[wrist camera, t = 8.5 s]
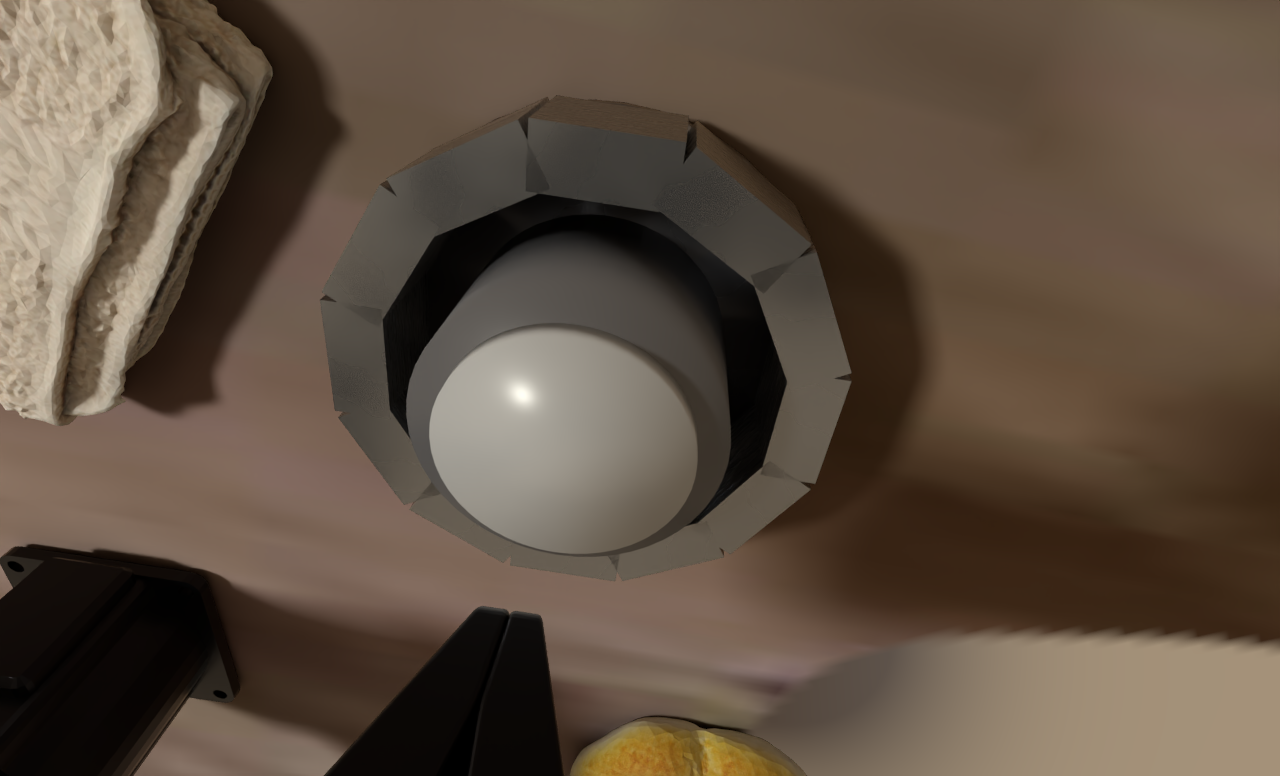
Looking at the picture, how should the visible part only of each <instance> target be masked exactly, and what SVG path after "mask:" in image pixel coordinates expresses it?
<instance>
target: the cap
mask: <svg viewBox="0 0 1280 776" xmlns="http://www.w3.org/2000/svg"><path fill="white" fill-rule="evenodd" d="M406 417H407V424H408V430H409V435H410V438H411V442H412V445H413V448H414V451H415V453H416V455H417V458H418V460H419V462H420V464H421V466H422V468H423V469H424V471H425V473H426V474H427V476H428V477H429V479H430V480H431V482H432V483H433V484H434V486H435V487H436V488H437V489H438V491H439V492H440V493H441V494H442V495H443V497H445V498H446V499H447V500H448V501H449V502H450V503H451V504H452V505H453V506H454V507H455V508H456V509H457V510H458V511H459V512H461V513H462V514H463V515H465V516H466V517H467V518H468V519H470V520H471V521H472V522H474V523H476V524H477V525H479V526H480V527H482V528H483V529H485V530H487V531H489V532H491V533H492V534H494V535H496V536H498V537H500V538H502V539H505V540H507V541H510V542H512V543H515V544H517V545H520V546H523V547H526V548H529V549H533V550H536V551H540V552H545V553H550V554H555V555H563V556H573V557H599V556H610V555H617V554H622V553H627V552H632V551H635V550H638V549H642V548H645V547H648V546H650V545H653V544H655V543H657V542H660V541H662V540H664V539H666V538H668V537H669V536H671V535H673V534H675V533H676V532H678V531H680V530H681V529H682V528H684V527H685V526H686V525H687V524H689V523H690V522H691V521H693V520H694V519H695V518H696V517H697V516H698V515H699V514H700V513H701V512H702V511H703V510H704V509H705V507H706V506H707V505H708V503H709V502H710V501H711V499H712V498H713V496H714V495H715V493H716V491H717V490H718V488H719V486H720V484H721V482H722V480H723V477H724V474H725V471H726V468H727V465H728V461H729V455H730V448H731V426H730V411H729V397H728V382H727V368H726V353H725V339H724V327H723V320H722V314H721V310H720V307H719V304H718V301H717V298H716V296H715V293H714V291H713V289H712V287H711V285H710V283H709V281H708V280H707V278H706V277H705V275H704V274H703V272H702V271H701V269H700V268H699V267H698V266H697V265H696V263H695V262H694V261H693V260H692V259H691V258H690V256H688V255H687V254H686V253H685V252H684V251H683V250H682V249H681V248H679V247H678V246H677V245H676V244H675V243H673V242H672V241H670V240H669V239H667V238H666V237H664V236H663V235H661V234H660V233H658V232H656V231H654V230H652V229H650V228H648V227H646V226H643V225H641V224H638V223H635V222H632V221H629V220H626V219H621V218H617V217H612V216H605V215H593V214H585V215H570V216H564V217H559V218H554V219H551V220H548V221H545V222H542V223H539V224H536V225H534V226H532V227H530V228H528V229H526V230H524V231H522V232H521V233H519V234H518V235H516V236H515V237H513V238H512V239H511V240H509V241H508V242H507V243H506V244H505V245H504V246H503V247H502V248H500V249H499V250H498V251H497V252H496V254H495V255H494V256H493V257H492V259H491V260H490V261H489V262H488V264H487V265H486V266H485V268H484V269H483V270H482V272H481V273H480V274H479V276H478V277H477V278H476V280H475V281H474V282H473V284H472V285H471V287H470V288H469V289H468V291H467V292H466V293H465V295H464V296H463V297H462V299H461V300H460V301H459V303H458V304H457V305H456V307H455V308H454V309H453V311H452V312H451V313H450V315H449V316H448V317H447V319H446V320H445V322H444V323H443V324H442V326H441V327H440V328H439V330H438V331H437V332H436V334H435V335H434V336H433V338H432V339H431V340H430V342H429V343H428V344H427V346H426V347H425V348H424V350H423V352H422V354H421V355H420V357H419V359H418V361H417V363H416V365H415V367H414V370H413V373H412V376H411V379H410V381H409V387H408V393H407V399H406Z"/></svg>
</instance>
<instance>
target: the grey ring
mask: <svg viewBox="0 0 1280 776" xmlns="http://www.w3.org/2000/svg"><path fill="white" fill-rule="evenodd" d="M688 118H689V116H687V115H680V114H674V113H667V112H662V111H659V110H656V109H651V108H647V107H643V106H638V105H634V104H629V103H625V102H614V101H602V100H583V99H577V98H571V97H564V96H558V95H556V96H555V97H554V98H553V99H551V100H550V101H549V99H548V97H546V98H544V99H541V100H539V101H537V102H535V103H533V104H530V105H528V106H526V107H524V108H522V109H519V110H517V111H515V112H513V113H511V114H508V115H505V116H503V117H500V118H497V119H495V120H493V121H491V122H489V123H487V124H486V125H484V126H482V127H480V128H478V129H475V130H473V131H471V132H469V133H467V134H464V135H462V136H460V137H458V138H456V139H453V140H451V141H449V142H447V143H445V144H442V145H440V146H438V147H436V148H434V149H433V150H431V151H429V152H428V153H426V154H425V155H423V156H421V157H420V158H418V159H417V160H415V161H413V162H412V163H410V164H409V165H407V166H406V167H404V168H402V169H401V170H399V171H398V172H396V173H394V174H393V175H391V176H390V177H388V178H387V180H386V181H385V182H383V183H382V184H380V185H379V187H378V189H377V191H376V193H375V194H374V196H373V198H372V200H371V202H370V204H369V205H368V207H367V209H366V211H365V213H364V215H363V217H362V218H361V220H360V222H359V224H358V226H357V228H356V229H355V231H354V233H353V235H352V237H351V239H350V240H349V242H348V244H347V246H346V248H345V250H344V251H343V253H342V255H341V257H340V259H339V261H338V263H337V264H336V266H335V268H334V270H333V272H332V274H331V275H330V277H329V279H328V281H327V283H326V285H325V286H324V288H323V290H322V293H324V294H326V295H325V296H324V297H323V298H322V299H320V303H321V311H322V318H323V326H324V333H325V340H326V348H327V355H328V363H329V370H330V377H331V385H332V392H333V400H334V407H335V411H342V414H341V415H340V416H339V417H338V418H339V419H340V421H341V422H342V423H343V425H344V426H345V427H346V429H347V430H348V431H349V433H350V434H351V435H352V437H353V438H354V439H355V440H356V442H357V443H358V444H359V446H360V447H361V448H362V450H363V451H364V452H365V454H366V455H367V456H368V458H369V459H370V460H371V462H372V463H373V464H374V466H375V467H376V468H377V470H378V471H379V472H380V474H381V475H382V476H383V478H384V479H385V480H386V482H387V483H388V484H389V486H390V487H391V488H392V490H393V491H394V492H395V494H396V495H397V496H398V498H399V499H400V500H401V502H402V503H403V504H404V505H405V504H408V503H412V502H413V504H412V506H411V508H410V509H409V510H411V511H413V512H415V513H416V514H418V515H420V516H422V517H423V518H425V519H427V520H429V521H430V522H432V523H434V524H436V525H437V526H439V527H441V528H443V529H445V530H446V531H448V532H450V533H452V534H453V535H455V536H457V537H459V538H460V539H462V540H464V541H466V542H467V543H469V544H471V545H473V546H474V547H476V548H478V549H480V550H481V551H483V552H485V553H487V554H489V555H490V556H492V557H494V558H496V559H497V560H499V561H501V562H503V563H504V562H505V561H506V560H507V559H508V558H509V557H510V556H511V562H510V565H511V566H517V567H524V568H530V569H537V570H544V571H550V572H557V573H563V574H570V575H577V576H583V577H590V578H596V579H603V580H610V581H615V580H616V574H617V572H618V574H619V576H620V578H621V579H622V581H625V580H629V579H633V578H638V577H642V576H646V575H650V574H655V573H659V572H663V571H668V570H672V569H676V568H680V567H685V566H689V565H693V564H698V563H702V562H706V561H710V560H715V559H719V558H723V557H724V551H726V552H727V553H729V554H731V553H733V552H734V551H735V550H736V549H738V548H739V547H740V546H741V545H743V544H744V543H745V542H746V541H747V540H749V539H750V538H751V537H752V536H754V535H755V534H756V533H757V532H759V531H760V530H761V529H762V528H764V527H765V526H766V525H767V524H769V523H770V522H771V521H772V520H774V519H775V518H776V517H777V516H779V515H780V514H781V513H782V512H784V511H785V510H786V509H787V508H789V507H790V506H791V505H792V504H794V503H795V502H796V501H797V500H799V499H800V498H801V497H802V496H803V495H805V494H806V493H807V492H808V491H810V490H811V488H810V484H809V483H813V484H815V483H816V480H817V478H818V475H819V472H820V469H821V466H822V463H823V461H824V458H825V455H826V452H827V449H828V447H829V444H830V441H831V438H832V435H833V432H834V430H835V427H836V424H837V421H838V418H839V415H840V413H841V410H842V407H843V404H844V401H845V398H846V396H847V393H848V390H849V387H850V384H851V379H850V376H849V374H851V369H850V366H849V362H848V359H847V355H846V352H845V348H844V345H843V341H842V338H841V334H840V331H839V327H838V324H837V321H836V317H835V314H834V310H833V307H832V303H831V300H830V296H829V293H828V289H827V286H826V282H825V279H824V275H823V272H822V269H821V265H820V262H819V258H818V255H817V251H816V249H815V247H814V245H813V242H812V240H811V238H810V235H809V233H808V231H807V228H806V226H805V224H804V222H803V219H802V217H801V215H800V212H799V210H797V209H796V207H795V204H794V203H793V202H792V201H791V200H790V199H789V198H787V197H786V196H785V195H784V194H783V193H782V192H780V191H779V190H778V189H777V188H776V187H775V186H773V185H772V184H771V183H770V182H769V181H768V180H767V179H766V178H765V177H764V176H763V175H762V174H761V173H760V172H759V171H758V170H757V169H756V168H755V167H754V166H753V165H752V164H751V163H750V162H749V161H748V160H747V159H746V158H745V157H744V156H742V155H741V154H740V153H738V152H737V151H736V150H734V149H733V148H732V147H730V146H729V145H728V144H726V143H725V142H724V141H722V140H721V139H720V138H718V137H716V136H715V135H714V134H713V133H712V132H711V131H709V130H708V129H707V128H706V127H705V126H704V125H702V124H701V123H700V122H699V121H698V120H697V121H696V122H695V123H694V124H692V123H690V122H688ZM585 214H593V215H605V216H612V217H617V218H621V219H626V220H629V221H632V222H635V223H638V224H641V225H643V226H646V227H648V228H650V229H652V230H654V231H656V232H658V233H660V234H661V235H663V236H664V237H666V238H667V239H669V240H670V241H672V242H673V243H675V244H676V245H677V246H678V247H679V248H681V249H682V250H683V251H684V252H685V253H686V254H687V255H688V256H690V258H691V259H692V260H693V261H694V262H695V263H696V265H697V266H698V267H699V268H700V269H701V271H702V272H703V274H704V275H705V277H706V278H707V280H708V281H709V283H710V285H711V287H712V289H713V291H714V293H715V296H716V298H717V301H718V304H719V307H720V310H721V314H722V320H723V327H724V339H725V353H726V368H727V382H728V397H729V411H730V426H731V448H730V455H729V461H728V465H727V468H726V471H725V474H724V477H723V480H722V482H721V484H720V486H719V488H718V490H717V491H716V493H715V495H714V496H713V498H712V499H711V501H710V502H709V503H708V505H707V506H706V507H705V509H704V510H703V511H702V512H701V513H700V514H699V515H698V516H697V517H696V518H695V519H694V520H693V521H691V522H690V523H689V524H687V525H686V526H685V527H684V528H682V529H681V530H680V531H678V532H676V533H675V534H673V535H671V536H669V537H668V538H666V539H664V540H662V541H660V542H657V543H655V544H653V545H650V546H648V547H645V548H642V549H638V550H635V551H632V552H627V553H622V554H617V555H610V556H599V557H573V556H563V555H555V554H550V553H545V552H540V551H536V550H533V549H529V548H526V547H523V546H520V545H517V544H515V543H512V542H510V541H507V540H505V539H502V538H500V537H498V536H496V535H494V534H492V533H491V532H489V531H487V530H485V529H483V528H482V527H480V526H479V525H477V524H476V523H474V522H472V521H471V520H470V519H468V518H467V517H466V516H465V515H463V514H462V513H461V512H459V511H458V510H457V509H456V508H455V507H454V506H453V505H452V504H451V503H450V502H449V501H448V500H447V499H446V498H445V497H443V495H442V494H441V493H440V492H439V491H438V489H437V488H436V487H435V486H434V484H433V483H432V482H431V480H430V479H429V477H428V476H427V474H426V473H425V471H424V469H423V468H422V466H421V464H420V462H419V460H418V458H417V455H416V453H415V451H414V448H413V445H412V442H411V438H410V435H409V430H408V424H407V417H406V399H407V393H408V387H409V381H410V379H411V376H412V373H413V370H414V367H415V365H416V363H417V361H418V359H419V357H420V355H421V354H422V352H423V350H424V348H425V347H426V346H427V344H428V343H429V342H430V340H431V339H432V338H433V336H434V335H435V334H436V332H437V331H438V330H439V328H440V327H441V326H442V324H443V323H444V322H445V320H446V319H447V317H448V316H449V315H450V313H451V312H452V311H453V309H454V308H455V307H456V305H457V304H458V303H459V301H460V300H461V299H462V297H463V296H464V295H465V293H466V292H467V291H468V289H469V288H470V287H471V285H472V284H473V282H474V281H475V280H476V278H477V277H478V276H479V274H480V273H481V272H482V270H483V269H484V268H485V266H486V265H487V264H488V262H489V261H490V260H491V259H492V257H493V256H494V255H495V254H496V252H497V251H498V250H499V249H500V248H502V247H503V246H504V245H505V244H506V243H507V242H508V241H509V240H511V239H512V238H513V237H515V236H516V235H518V234H519V233H521V232H522V231H524V230H526V229H528V228H530V227H532V226H534V225H536V224H539V223H542V222H545V221H548V220H551V219H554V218H559V217H564V216H570V215H585Z"/></svg>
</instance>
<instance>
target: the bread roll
mask: <svg viewBox="0 0 1280 776" xmlns="http://www.w3.org/2000/svg"><path fill="white" fill-rule="evenodd" d="M570 776H807V775H806V774H805V773H804V771H803V770H802V769H801V768H800V767H799V766H798V765H797V764H796V763H795V762H794V761H793V760H791V759H790V758H789V757H788V756H786V755H785V754H784V753H783V752H781V751H780V750H779V749H777V748H775V747H774V746H773V745H771V744H770V743H769V742H767V741H766V740H764V739H761V738H759V737H755V736H752V735H749V734H746V733H742V732H738V731H733V730H724V729H718V728H711V729H703V728H700V727H698V726H697V725H695V724H693V723H690V722H688V721H684V720H679V719H673V718H665V717H644V718H640V719H637V720H635V721H632V722H629V723H627V724H624V725H622V726H621V727H619V728H617V729H615V730H613V731H611V732H610V733H608V734H607V735H605V736H604V737H602V738H600V739H599V740H597V741H595V742H594V743H592V744H590V745H588V746H587V747H585V748H584V749H583V750H582V751H581V752H580V753H579V755H578V756H577V758H576V760H575V762H574V764H573V766H572V768H571V773H570Z"/></svg>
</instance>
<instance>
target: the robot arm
mask: <svg viewBox="0 0 1280 776" xmlns="http://www.w3.org/2000/svg"><path fill="white" fill-rule="evenodd" d="M0 565H1V566H2V568H3V570H4V572H5V574H6V576H7V578H8V579H9V581H10V583H11V585H12V587H13V589H12V590H10V591H9V592H8V593H7V594H6V595H5V596H4V597H3V598H1V599H0V776H134V774H135V773H136V771H137V770H138V769H139V767H140V766H141V764H142V763H143V762H144V760H145V759H146V757H147V756H148V755H149V753H150V752H151V750H152V749H153V748H154V746H155V745H156V743H157V742H158V740H159V739H160V738H161V736H162V735H163V733H164V732H165V731H166V729H167V728H168V726H169V725H170V724H171V722H172V721H173V719H174V718H175V717H176V715H177V714H178V712H179V711H180V710H181V708H182V707H183V705H184V704H185V703H186V701H187V700H188V698H189V697H190V698H196V699H203V700H210V701H216V702H224V703H228V702H232V701H233V700H234V698H235V697H236V695H237V693H238V692H239V690H240V684H239V681H238V678H237V675H236V671H235V668H234V665H233V662H232V659H231V655H230V652H229V649H228V646H227V642H226V639H225V636H224V633H223V629H222V626H221V623H220V620H219V616H218V613H217V610H216V607H215V604H214V600H213V597H212V594H211V591H210V587H209V585H208V583H207V581H206V580H205V579H204V578H203V577H201V576H199V575H198V574H195V573H191V572H186V571H179V570H173V569H166V568H159V567H153V566H146V565H140V564H133V563H126V562H120V561H113V560H106V559H100V558H93V557H87V556H80V555H73V554H67V553H60V552H54V551H47V550H40V549H34V548H27V547H13V548H11V549H10V550H9V551H8V552H7V553H5V554H4V555H3V556H2V557H1V558H0ZM324 776H564V770H563V763H562V756H561V749H560V742H559V735H558V728H557V721H556V714H555V706H554V699H553V692H552V685H551V678H550V671H549V664H548V657H547V650H546V642H545V635H544V628H543V622H542V618H541V616H540V615H538V614H532V613H526V612H519V611H514V612H512V613H511V614H509V612H508V611H507V610H505V609H499V608H493V607H486V606H481V607H478V608H477V609H475V610H474V611H473V612H472V613H471V614H470V615H469V617H468V618H467V619H466V620H465V621H464V622H463V623H462V624H461V625H460V626H459V628H458V629H457V630H456V631H455V632H454V633H453V634H452V635H451V636H450V637H449V639H448V640H447V641H446V642H445V643H444V644H443V645H442V646H441V647H440V648H439V650H438V651H437V652H436V653H435V654H434V655H433V656H432V657H431V658H430V659H429V661H428V662H427V663H426V664H425V665H424V666H423V667H422V668H421V669H420V670H419V672H418V673H417V674H416V675H415V676H414V677H413V678H412V679H411V680H410V681H409V683H408V684H407V685H406V686H405V687H404V688H403V689H402V690H401V691H400V692H399V694H398V695H397V696H396V697H395V698H394V699H393V700H392V701H391V702H390V703H389V705H388V706H387V707H386V708H385V709H384V710H383V711H382V712H381V713H380V714H379V716H378V717H377V718H376V719H375V720H374V721H373V722H372V723H371V724H370V725H369V727H368V728H367V729H366V730H365V731H364V732H363V733H362V734H361V735H360V736H359V738H358V739H357V740H356V741H355V742H354V743H353V744H352V745H351V746H350V747H349V749H348V750H347V751H346V752H345V753H344V754H343V755H342V756H341V757H340V758H339V760H338V761H337V762H336V763H335V764H334V765H333V766H332V767H331V768H330V769H329V771H328V772H327V773H326V774H325V775H324Z"/></svg>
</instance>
